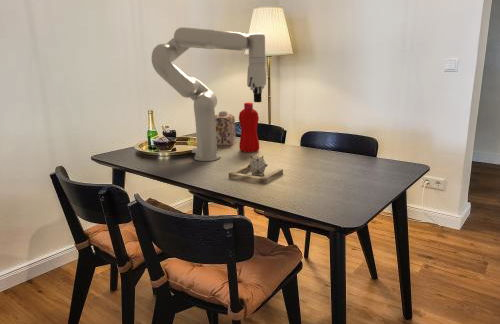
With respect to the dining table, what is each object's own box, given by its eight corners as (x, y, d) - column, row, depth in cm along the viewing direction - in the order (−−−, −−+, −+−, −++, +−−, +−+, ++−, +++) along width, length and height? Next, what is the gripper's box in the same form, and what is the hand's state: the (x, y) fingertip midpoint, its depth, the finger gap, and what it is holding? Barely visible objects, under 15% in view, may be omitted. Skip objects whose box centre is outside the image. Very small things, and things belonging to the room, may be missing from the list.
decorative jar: (216, 141, 235) (214, 110, 230) (235, 141, 233) (234, 110, 229) (212, 145, 223) (210, 113, 218) (232, 145, 222) (231, 113, 217)
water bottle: (247, 154, 202) (246, 104, 196) (237, 150, 211) (236, 102, 205) (263, 152, 207) (262, 103, 200) (252, 147, 216) (251, 101, 209)
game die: (260, 184, 168) (260, 170, 160) (243, 175, 171) (242, 161, 163) (271, 170, 172) (272, 155, 164) (254, 161, 175) (254, 146, 167)
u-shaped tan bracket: (228, 177, 165) (228, 173, 165) (248, 168, 178) (248, 164, 177) (264, 184, 157) (264, 179, 156) (282, 173, 169) (282, 169, 169)
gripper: (258, 61, 191) (258, 100, 196) (241, 62, 179) (242, 103, 184) (272, 61, 187) (272, 100, 192) (255, 62, 175) (256, 104, 180)
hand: (257, 102), depth 188 cm, fingers closed
